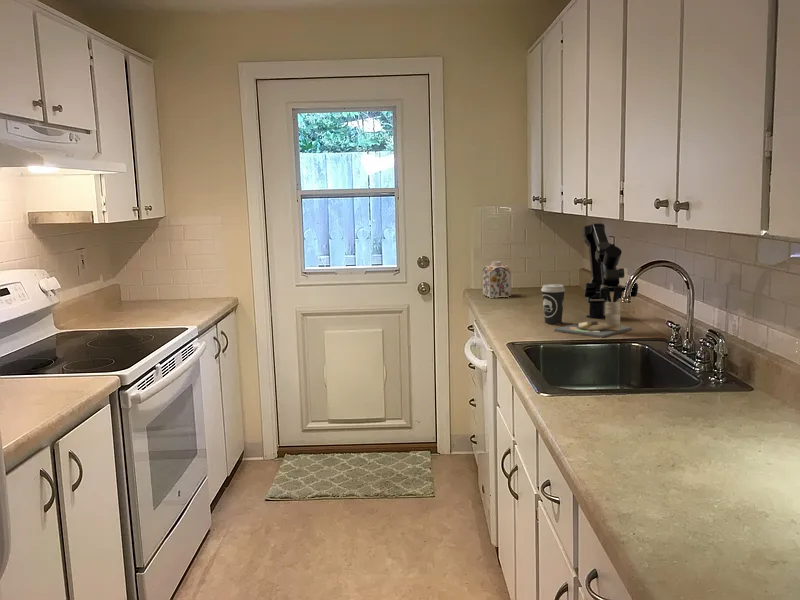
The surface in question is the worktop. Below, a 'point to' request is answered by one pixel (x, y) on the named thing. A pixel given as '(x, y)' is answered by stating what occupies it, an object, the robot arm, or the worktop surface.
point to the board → (590, 331)
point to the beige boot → (610, 319)
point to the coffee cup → (553, 303)
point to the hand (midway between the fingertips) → (612, 308)
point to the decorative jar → (496, 280)
